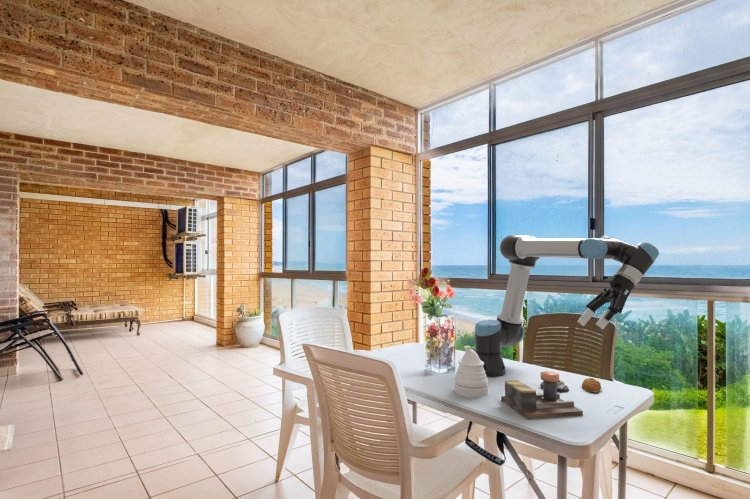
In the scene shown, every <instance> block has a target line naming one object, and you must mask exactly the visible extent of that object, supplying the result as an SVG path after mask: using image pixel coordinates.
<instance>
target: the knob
mask: <svg viewBox="0 0 750 499" xmlns="http://www.w3.org/2000/svg"><path fill="white" fill-rule="evenodd" d="M540 380H542V382H543V389H542V390H543V393H542V394H543V397H541V400H543V401H544V402H558V400H557V393H558V392H557V382H558V381H559V380H560V374H559V373H558V372H554V371H550V370H549V371H541V372H540Z"/></svg>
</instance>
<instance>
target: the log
mask: <svg viewBox="0 0 750 499" xmlns="http://www.w3.org/2000/svg"><path fill="white" fill-rule="evenodd" d="M565 383H566V382H564V381H563V380H561V379H559V381H558V382H557V393H559V394H563V393H568V392H570V388H569V386H568V385H565ZM539 386H540V387H541V389H542V390H543V381H541V383H540V385H539Z"/></svg>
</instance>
